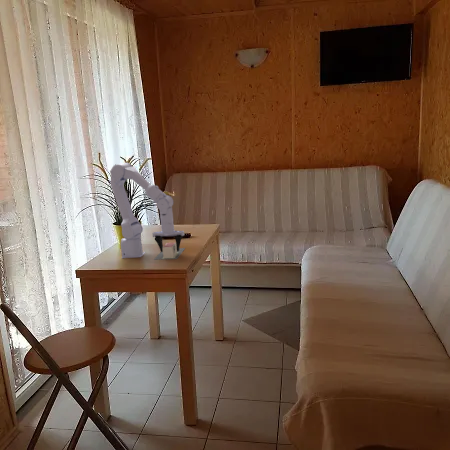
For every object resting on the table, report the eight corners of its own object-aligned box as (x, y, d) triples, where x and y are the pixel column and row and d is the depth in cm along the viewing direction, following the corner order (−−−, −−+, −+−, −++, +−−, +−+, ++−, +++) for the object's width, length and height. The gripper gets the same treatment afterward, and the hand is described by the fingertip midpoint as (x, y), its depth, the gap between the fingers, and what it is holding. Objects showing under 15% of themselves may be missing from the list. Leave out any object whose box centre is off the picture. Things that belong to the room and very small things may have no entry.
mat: (153, 260, 202) (153, 259, 202) (163, 249, 219) (163, 248, 219) (177, 259, 200) (177, 258, 200) (185, 248, 218) (185, 247, 218)
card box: (167, 253, 211) (166, 242, 210) (177, 252, 210) (176, 242, 209) (163, 257, 203) (162, 247, 202) (173, 257, 202) (172, 246, 201)
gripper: (149, 225, 200) (152, 254, 203) (180, 223, 198) (183, 253, 201) (153, 221, 207) (156, 249, 210) (184, 220, 205) (186, 248, 208)
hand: (170, 251), depth 206 cm, fingers open, 7 cm apart
